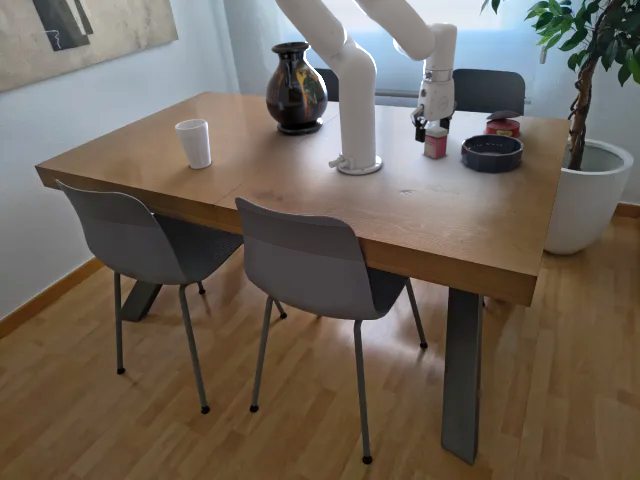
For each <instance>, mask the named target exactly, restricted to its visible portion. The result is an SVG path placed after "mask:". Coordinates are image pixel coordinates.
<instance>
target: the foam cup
mask: <svg viewBox="0 0 640 480" xmlns="http://www.w3.org/2000/svg"><path fill="white" fill-rule="evenodd" d="M174 131H175V134H176V136H177V138H178V141H179V142H180V144H181V145H180V146H181V147H182V149H183V152H184V154H185V158H186V160H187V162H188V164H189V166H190V168H191V169H194V170H198V169H204V168H207V167H209V166H210V165H211V163H212V162H211V161H212V159H211V150H210V149H211V148H210V139H209V138H210V137H209V125H208V121H207V120H206V119H202V118H193V119H187V120H183V121H180V122H178V123H176V124H175V125H174Z"/></svg>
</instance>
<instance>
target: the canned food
mask: <svg viewBox="0 0 640 480" xmlns="http://www.w3.org/2000/svg"><path fill="white" fill-rule="evenodd" d="M520 117H521V114H520V113H518V112H517V111H516V112H515V111H512V110H507V109H506V110H504V109H503V110H496V111H494V112H493V113H491V114H490V115H488V116H487V117H486V118H485V120H488V121H487V122H486V123H485V124H486V125H485V131H484V133H485V134H495V135H505V136H509V137H513V138H516V137H518V136H519V134H520V128H521V122H520V121H518V120H516V119H517V118H520ZM485 134H484V135H485Z"/></svg>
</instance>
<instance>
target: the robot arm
mask: <svg viewBox="0 0 640 480" xmlns="http://www.w3.org/2000/svg"><path fill="white" fill-rule="evenodd" d="M274 1H275V3H276V4H277V6H278V8H279V9H280V10H281V12H282V13H283V14H284V16H285V17H286V18H287V20H288V21H289V22H290V23H291V24H292V26H293V27H294V28H295V29H296V30H297V31H298V32H299V33H300V34H301V36H302V38H304V39H305V42H307V43H308V45H309V46H310V49H312V50H313V51H314V53H316V55H317V56H318V57H319V58H320V59H321V60H322V62H323V63H324V64H326V66H327V67H328V68H329V69H330V71H332V72H333V74H334V75H335V76H336V77H337V79H338V109H339V112H338V113H339V124H340V139H341V140H340V141H341V152H339V153H338V157H337V158H336V159H332V160H330V161H328V167H329V168H330V169H334V168H336V167H337V169H338V171H340V172H342V173H344V174H348V175H365V174H371V173H373V172H376V171H378V170H379V169H380V168H381V167H382V165H383V163H382V159H381V158H380V157H379V156H377V153H376V152H377V150H376V149H377V147H376V146H377V143H376V142H377V141H376V136H377V135H376V87H377V86H376V84H377V66H376V63H375V60H374V58H373V57H372V55H371V54H370V53H369V52H368V51H367V50H366V49H364V48H363V47H361V46H360V45H359V44H358V43H357V42H356V41H355V39H354V38H353V37H352V36H351V35H350V34H349V32H348V31H347V30H346V28H345V26H344V24H343V22H342V21H341V20H340V19H339V17H337V16H336V15H335V14H334V13H333V12H332V11H331V10H330V9H329V8H328V6H327V4H325V3H324V2H323V1H322V0H274ZM352 2H353V3H354V4H355V5H356V6H357V7H358V8H359V10H360V11H361V12H362V13H363V14H364V15H365V16H366V17H368V18H369V19H370V20H372V21H373V22H374V23H376V25H377V24H378V25H379V26H380V27H381V28H382V29H384V31H385V32H386V33H388V34H389V36H390V37H391V38H392V39H393V45H394V48H395V49H396V51H397V52H398V53H399V54H400V55H403V56H405V57H406V58H408V59H410V60H411V61H414V62H423V61H424V63H423V74H422V75H421V78H422V81H421V85H420V88H419V93H418V98H417V99H418V100H417V106H416V109H414V110H413V111H412V113H411V112H410V119H411V124H413V127H414V128H415V133H414V141H416V142H419V143H421V144H425V134H426V129H427V128H425V127H427V124H428V121H430V122H432V121H436V120H439V119H440V126H439V127H442V128H444V129H447V130H448V135H449V134H450V126H451V121H452V119H453V115H454V114H455V112H456V108H457V106H458V101H456V100H455V81H454V78H453V74H454V64H455V56H456V46H457V38H458V26H457V25H456V24H455V23H452V22H434V23H432V24H427V23H426V22H425V20H424V19H423V18H422V17H421V15H420V14H419V13H418V12H417V11H416V9H414V8H413V6H412V5H411V4H410V3H409V2H408V1H407V0H352ZM442 118H443V119H442Z"/></svg>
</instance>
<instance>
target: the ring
mask: <svg viewBox="0 0 640 480" xmlns="http://www.w3.org/2000/svg"><path fill="white" fill-rule="evenodd" d="M524 146H525V144H524V143H523V142H522V141H521V140H520V139H518V138H516V137H514V138H513V137H509V136H505V135H495V134H477V135H473V136H470V137H468V138H465V139H463V142H462V144H461V149H460V155H461V156H462V158H461V159H462V161H461V162H462V164H463V165H464V166H465V167H466V168H468V169H471V170H473V171H476V172H479V173H489V174H491V173H492V174H497V173H505V172H510V171H512V170H514V169H516V168H518V167H519V163H520V161H522V157H523V151H524ZM486 153H487V154H486ZM488 153H493V154H488ZM495 153H496V154H495Z"/></svg>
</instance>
